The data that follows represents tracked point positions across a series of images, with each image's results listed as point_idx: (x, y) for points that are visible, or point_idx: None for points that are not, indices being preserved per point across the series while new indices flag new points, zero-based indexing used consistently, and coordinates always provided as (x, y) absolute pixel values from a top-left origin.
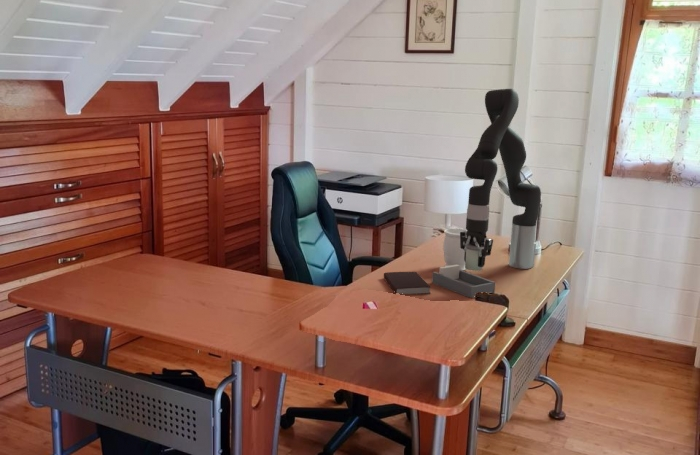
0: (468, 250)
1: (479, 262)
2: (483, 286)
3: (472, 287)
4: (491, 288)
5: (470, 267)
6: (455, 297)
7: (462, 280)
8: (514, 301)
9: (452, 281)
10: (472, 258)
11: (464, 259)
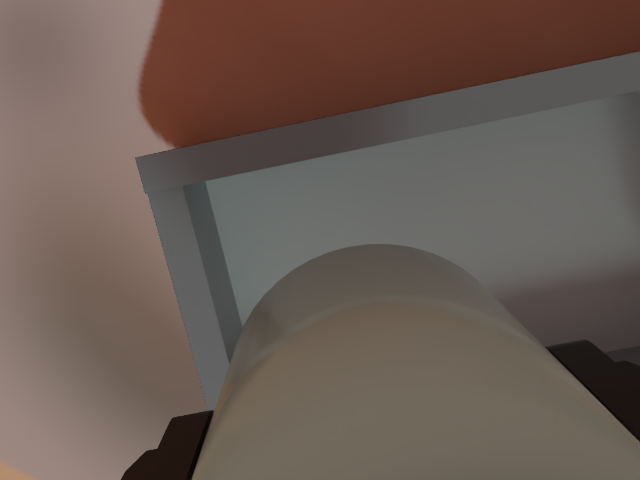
0: (427, 459)
1: (154, 467)
2: (193, 337)
3: (141, 170)
4: None
5: (289, 284)
6: (239, 7)
7: (635, 340)
8: (5, 470)
9: (473, 86)
10: (250, 391)
11: (635, 366)
